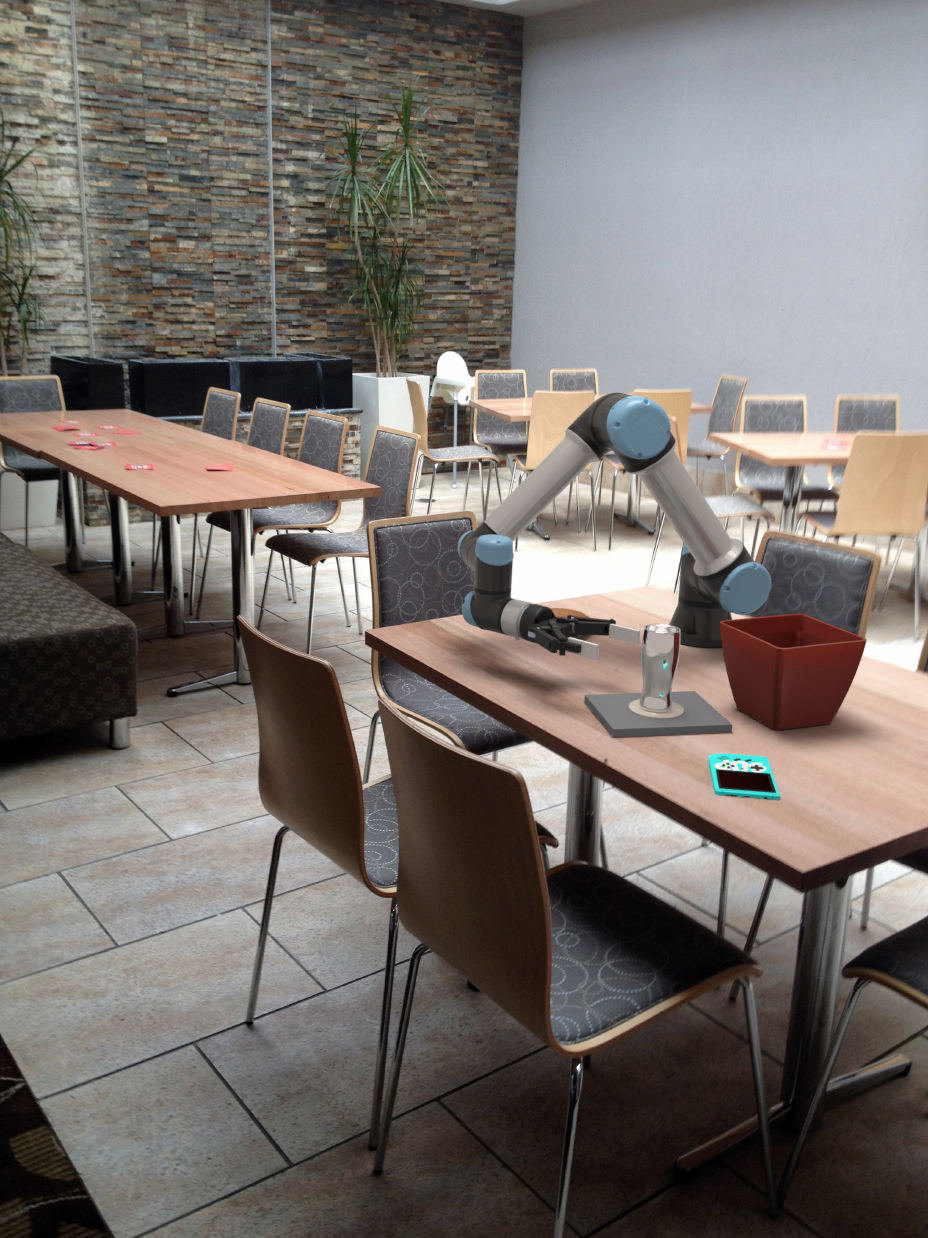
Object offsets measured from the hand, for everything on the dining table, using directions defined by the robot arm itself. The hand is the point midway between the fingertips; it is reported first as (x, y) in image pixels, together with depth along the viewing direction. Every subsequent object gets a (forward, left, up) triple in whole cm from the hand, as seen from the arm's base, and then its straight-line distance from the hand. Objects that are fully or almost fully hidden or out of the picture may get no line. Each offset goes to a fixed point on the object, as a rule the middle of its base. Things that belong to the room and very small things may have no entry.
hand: (618, 644), depth 204 cm
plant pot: (-30, +9, -12) cm, 33 cm away
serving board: (-6, +7, -12) cm, 15 cm away
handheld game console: (-10, +35, -13) cm, 38 cm away
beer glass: (-5, +7, -10) cm, 14 cm away
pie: (-2, -48, -12) cm, 49 cm away
